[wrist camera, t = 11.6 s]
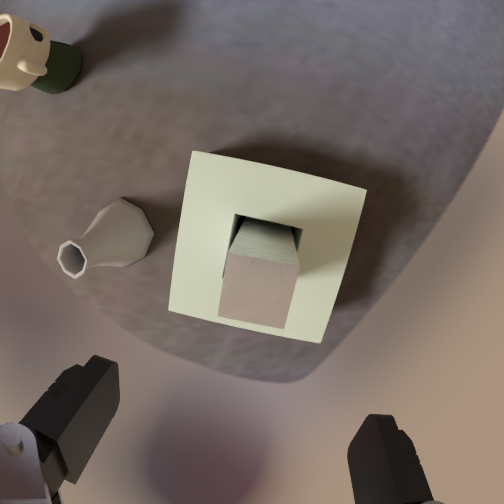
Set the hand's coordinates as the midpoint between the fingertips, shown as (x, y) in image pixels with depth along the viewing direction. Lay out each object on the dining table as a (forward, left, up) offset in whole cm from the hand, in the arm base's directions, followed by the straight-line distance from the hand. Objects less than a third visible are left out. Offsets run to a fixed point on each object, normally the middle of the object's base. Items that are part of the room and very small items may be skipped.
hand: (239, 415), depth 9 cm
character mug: (-15, -27, -24) cm, 39 cm away
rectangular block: (0, 0, -24) cm, 24 cm away
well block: (0, 0, -24) cm, 24 cm away
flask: (+3, -15, -24) cm, 28 cm away
